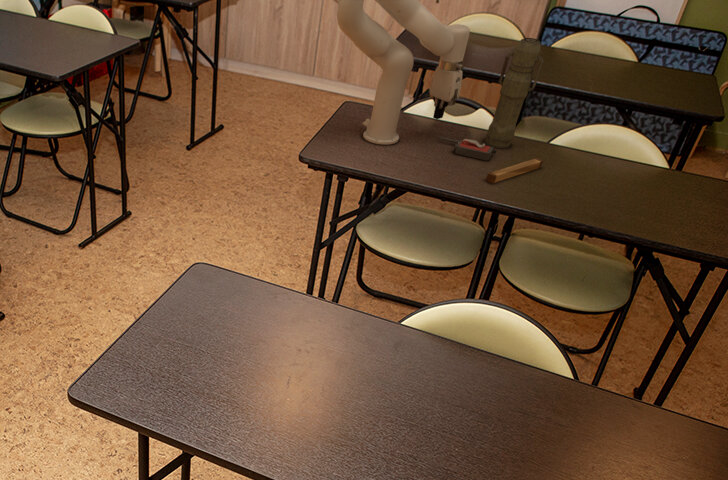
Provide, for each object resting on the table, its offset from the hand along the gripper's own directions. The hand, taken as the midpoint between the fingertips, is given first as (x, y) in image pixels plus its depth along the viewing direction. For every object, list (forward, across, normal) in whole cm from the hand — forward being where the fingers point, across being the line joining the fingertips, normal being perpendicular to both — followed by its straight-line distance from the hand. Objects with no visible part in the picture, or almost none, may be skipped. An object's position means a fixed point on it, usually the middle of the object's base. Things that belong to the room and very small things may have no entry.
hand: (437, 117), depth 246 cm
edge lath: (+7, -36, +1) cm, 37 cm away
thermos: (+7, -16, -15) cm, 23 cm away
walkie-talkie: (+7, -15, +1) cm, 17 cm away
